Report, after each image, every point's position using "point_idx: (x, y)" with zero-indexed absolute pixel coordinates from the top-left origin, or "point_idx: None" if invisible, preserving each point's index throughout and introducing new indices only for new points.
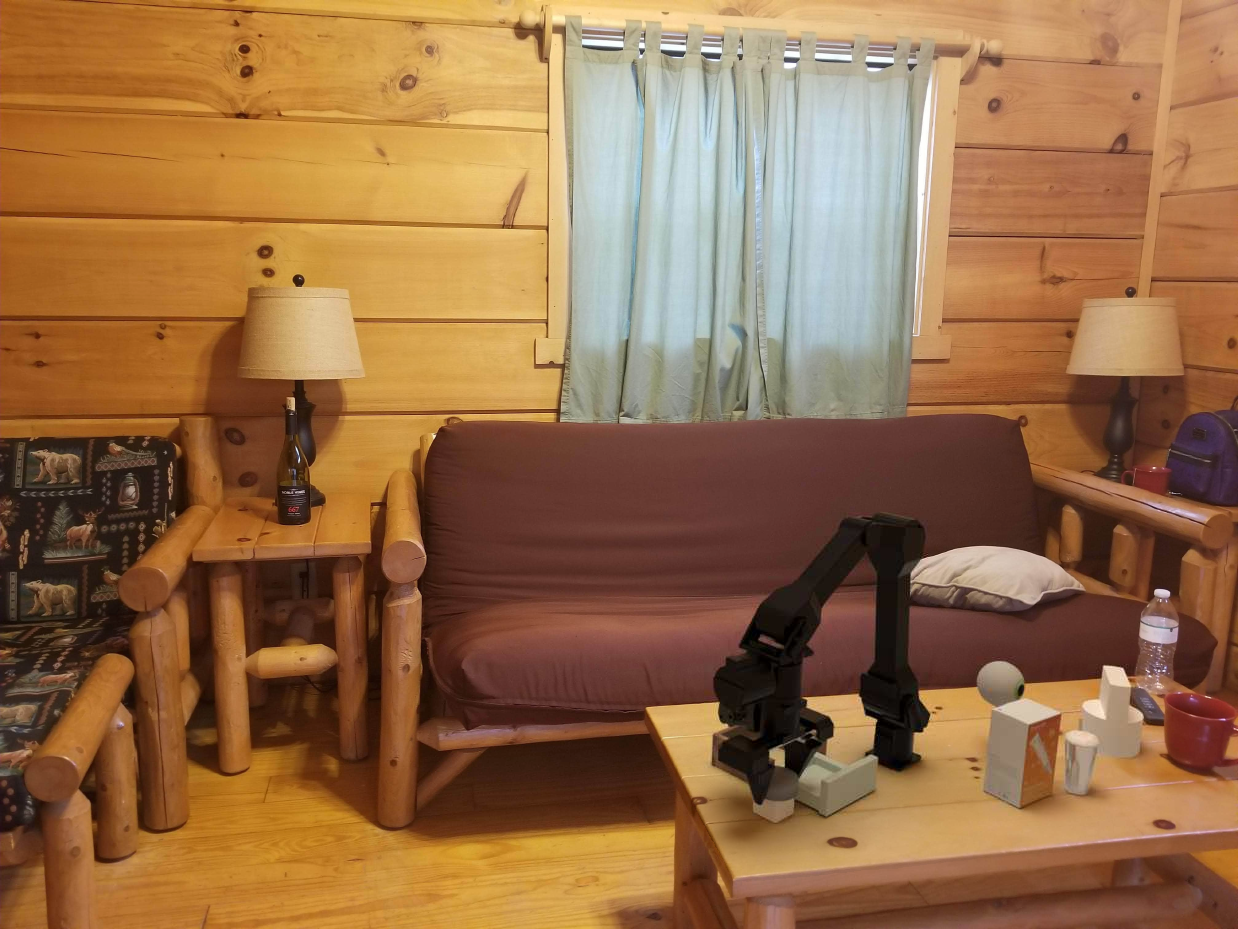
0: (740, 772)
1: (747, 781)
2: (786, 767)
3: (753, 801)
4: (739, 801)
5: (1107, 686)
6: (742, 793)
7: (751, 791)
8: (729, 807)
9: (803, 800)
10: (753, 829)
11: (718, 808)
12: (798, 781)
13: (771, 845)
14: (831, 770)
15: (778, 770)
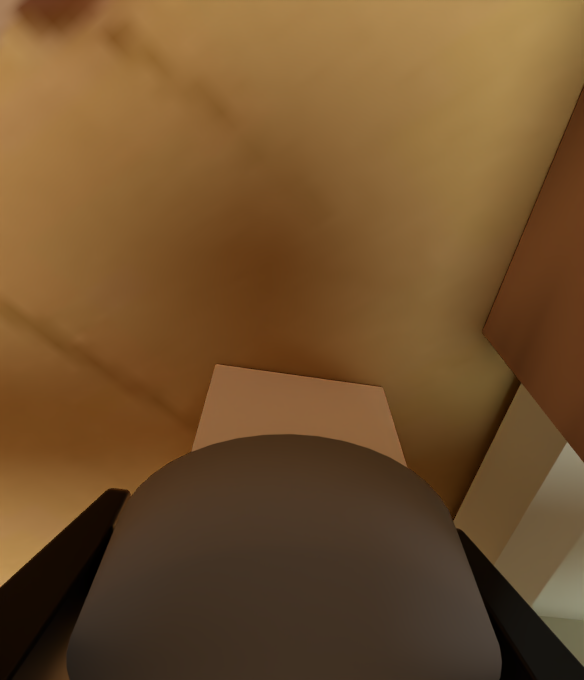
0: None
1: (572, 126)
2: (513, 677)
3: (205, 404)
4: (265, 237)
5: None
6: (380, 192)
7: (37, 556)
8: (147, 228)
9: (464, 520)
10: (74, 442)
11: (72, 173)
12: (581, 525)
13: (43, 541)
14: None
15: (405, 671)
